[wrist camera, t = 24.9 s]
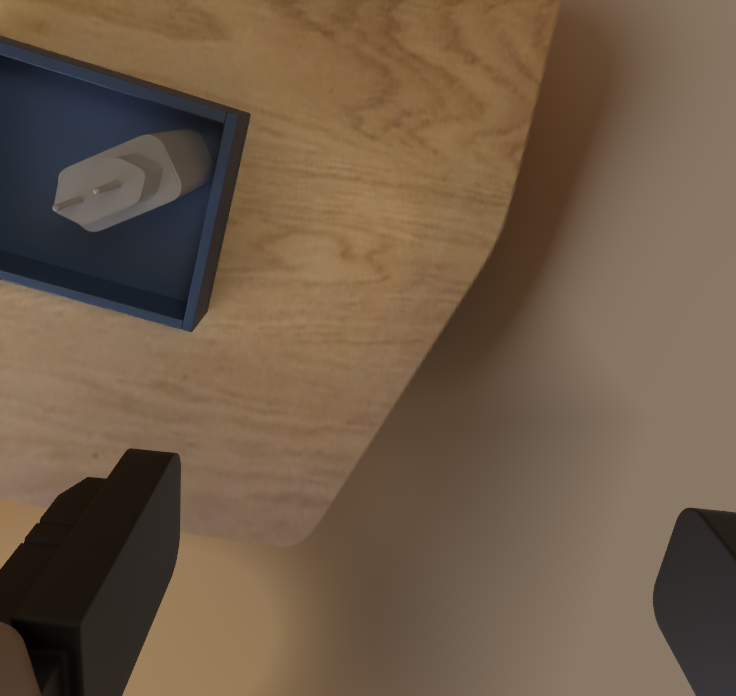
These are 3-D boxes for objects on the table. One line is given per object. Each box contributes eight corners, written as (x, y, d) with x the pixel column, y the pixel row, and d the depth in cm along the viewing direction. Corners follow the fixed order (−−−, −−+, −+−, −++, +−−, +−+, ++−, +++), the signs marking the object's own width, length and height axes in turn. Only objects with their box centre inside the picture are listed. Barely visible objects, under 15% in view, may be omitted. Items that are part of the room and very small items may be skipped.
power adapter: (220, 177, 37) (155, 211, 26) (136, 212, 38) (37, 260, 27) (196, 123, 36) (116, 134, 25) (109, 159, 37) (-6, 187, 26)
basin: (251, 113, 37) (238, 115, 33) (207, 312, 41) (191, 332, 37) (-6, 33, 35) (-49, 26, 32) (-24, 247, 39) (-63, 262, 36)
